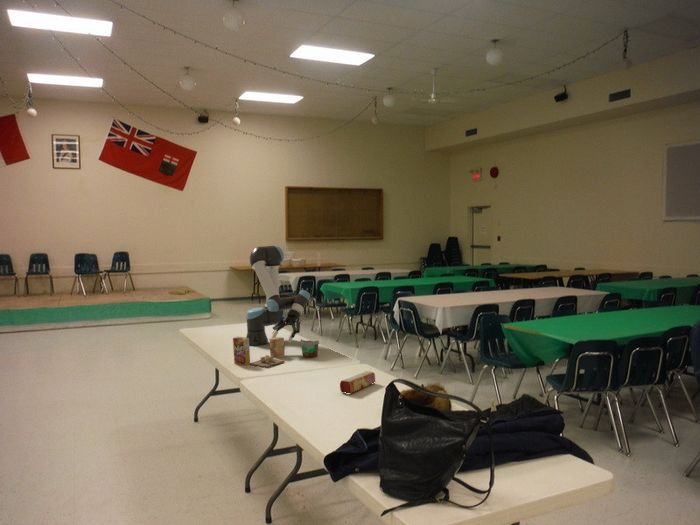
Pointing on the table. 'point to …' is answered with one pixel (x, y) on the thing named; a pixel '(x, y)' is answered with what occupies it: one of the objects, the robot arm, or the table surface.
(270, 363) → the peg stand
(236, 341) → the candy box
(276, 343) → the oak block
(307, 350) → the food container
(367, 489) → the table surface
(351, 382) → the snack package
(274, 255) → the robot arm
